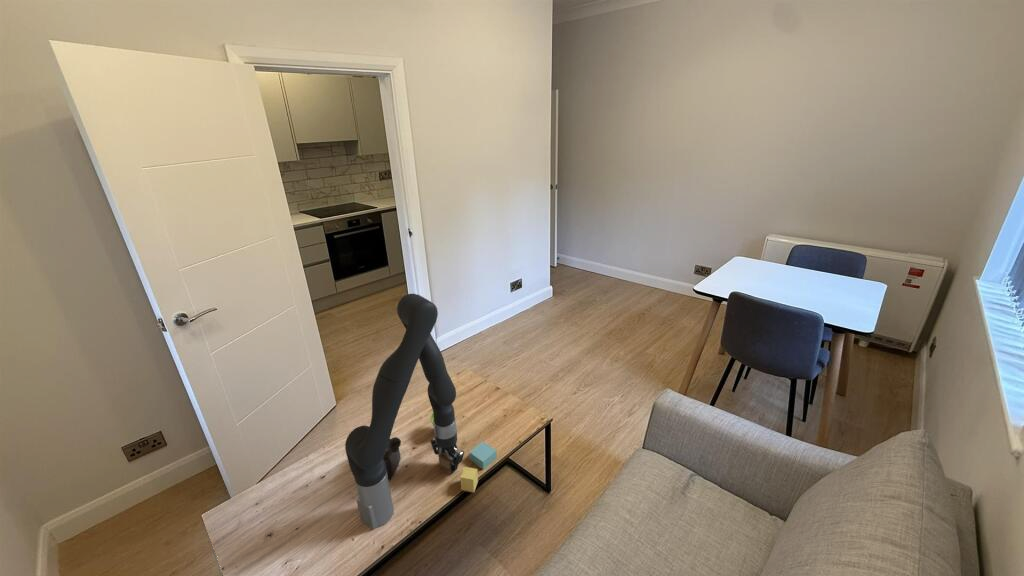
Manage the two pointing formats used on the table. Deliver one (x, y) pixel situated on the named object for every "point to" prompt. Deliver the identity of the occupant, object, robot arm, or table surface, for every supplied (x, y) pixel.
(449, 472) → the walnut block
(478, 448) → the teal plinth block
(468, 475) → the mustard block
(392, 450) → the dark brown ornament
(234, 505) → the table surface
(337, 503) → the table surface
